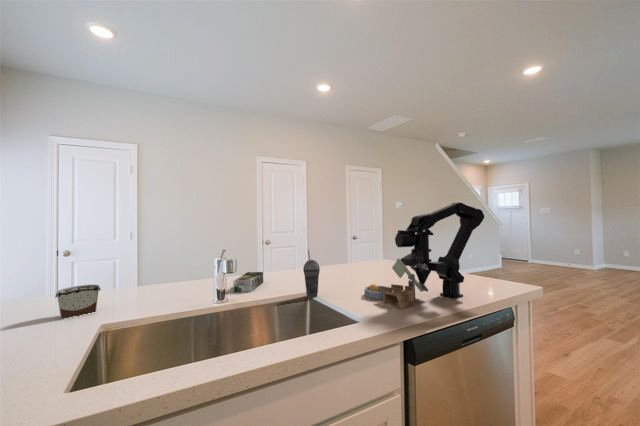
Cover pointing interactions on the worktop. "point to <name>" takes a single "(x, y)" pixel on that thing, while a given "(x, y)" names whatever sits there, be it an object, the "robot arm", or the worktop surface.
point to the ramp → (398, 295)
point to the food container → (77, 300)
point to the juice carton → (248, 282)
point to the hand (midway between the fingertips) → (422, 285)
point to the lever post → (412, 283)
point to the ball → (373, 288)
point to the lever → (401, 269)
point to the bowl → (374, 294)
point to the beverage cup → (311, 277)
